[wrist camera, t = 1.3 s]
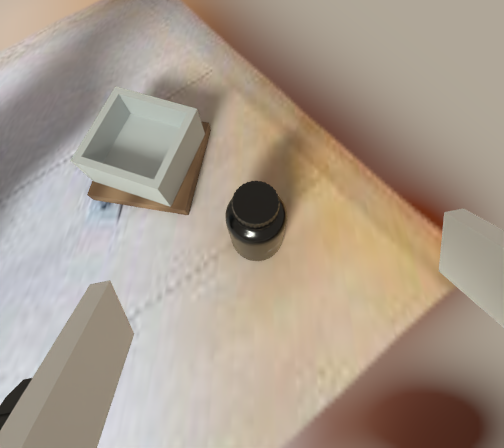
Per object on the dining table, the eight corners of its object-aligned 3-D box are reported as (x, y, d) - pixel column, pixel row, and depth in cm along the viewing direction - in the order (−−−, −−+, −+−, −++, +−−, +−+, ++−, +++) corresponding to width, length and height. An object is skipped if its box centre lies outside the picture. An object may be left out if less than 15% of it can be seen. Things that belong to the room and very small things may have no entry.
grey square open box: (93, 181, 44) (70, 161, 39) (131, 113, 48) (115, 86, 43) (170, 206, 42) (157, 189, 37) (205, 134, 46) (197, 108, 41)
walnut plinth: (96, 201, 46) (87, 194, 44) (125, 121, 50) (118, 110, 48) (189, 216, 45) (185, 210, 42) (211, 132, 49) (208, 122, 47)
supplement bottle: (281, 263, 41) (287, 238, 30) (229, 260, 42) (216, 233, 30) (284, 214, 44) (291, 173, 32) (234, 211, 44) (224, 169, 33)
